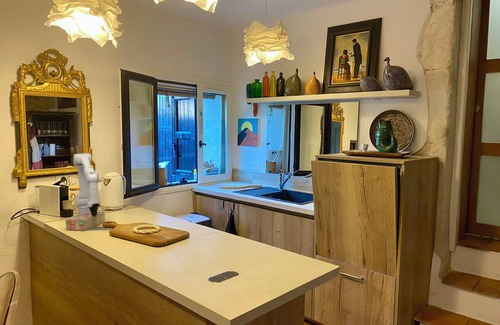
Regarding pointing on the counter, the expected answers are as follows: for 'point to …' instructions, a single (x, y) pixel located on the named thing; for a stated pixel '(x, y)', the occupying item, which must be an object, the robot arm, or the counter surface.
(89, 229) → the strip
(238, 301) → the counter surface
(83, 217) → the patterned cardboard box
